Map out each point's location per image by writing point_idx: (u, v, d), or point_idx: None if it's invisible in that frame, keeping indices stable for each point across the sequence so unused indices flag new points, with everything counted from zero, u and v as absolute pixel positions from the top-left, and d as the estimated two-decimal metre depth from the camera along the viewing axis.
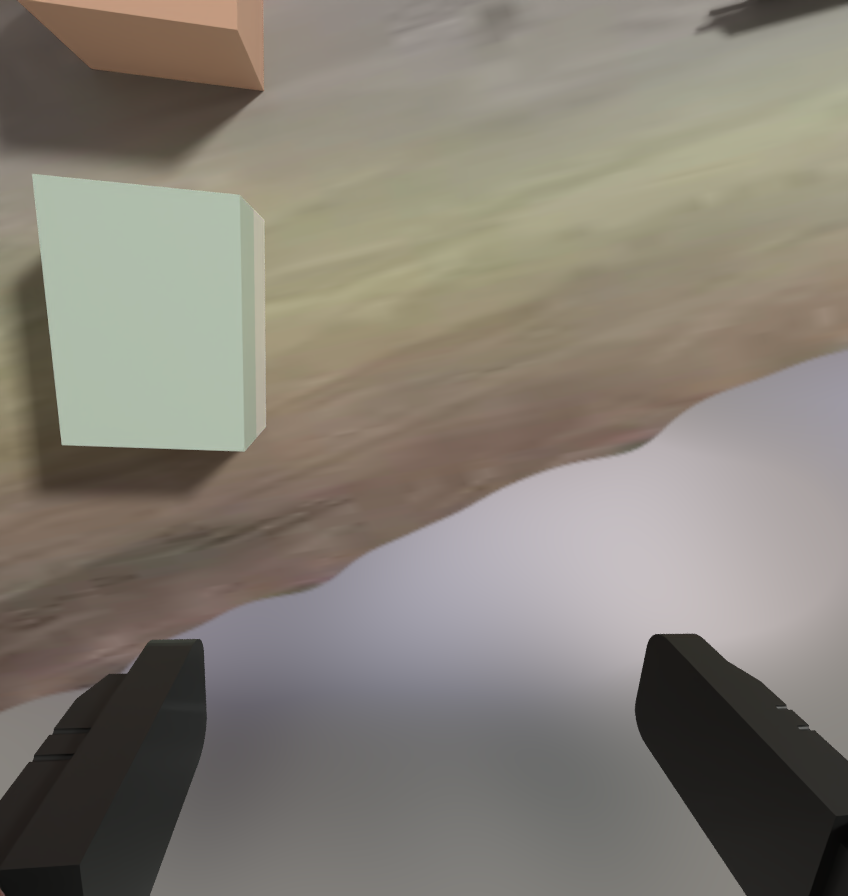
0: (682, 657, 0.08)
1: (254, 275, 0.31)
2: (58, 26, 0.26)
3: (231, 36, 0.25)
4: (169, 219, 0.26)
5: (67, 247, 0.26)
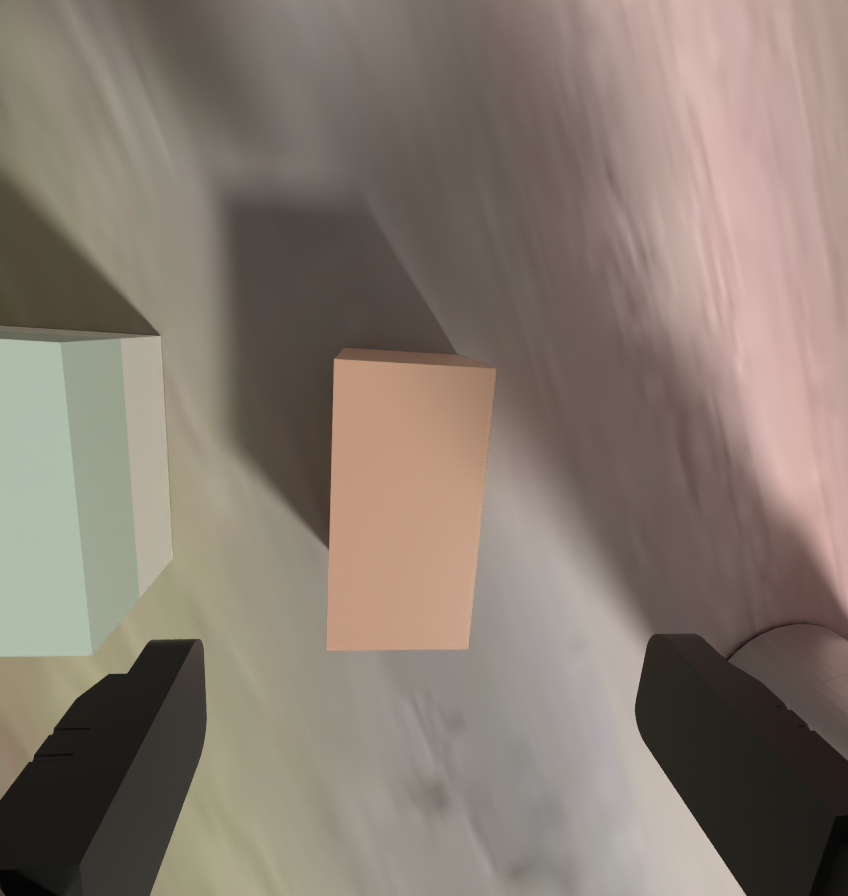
0: (682, 657, 0.08)
1: None
2: None
3: None
4: (28, 554, 0.15)
5: None
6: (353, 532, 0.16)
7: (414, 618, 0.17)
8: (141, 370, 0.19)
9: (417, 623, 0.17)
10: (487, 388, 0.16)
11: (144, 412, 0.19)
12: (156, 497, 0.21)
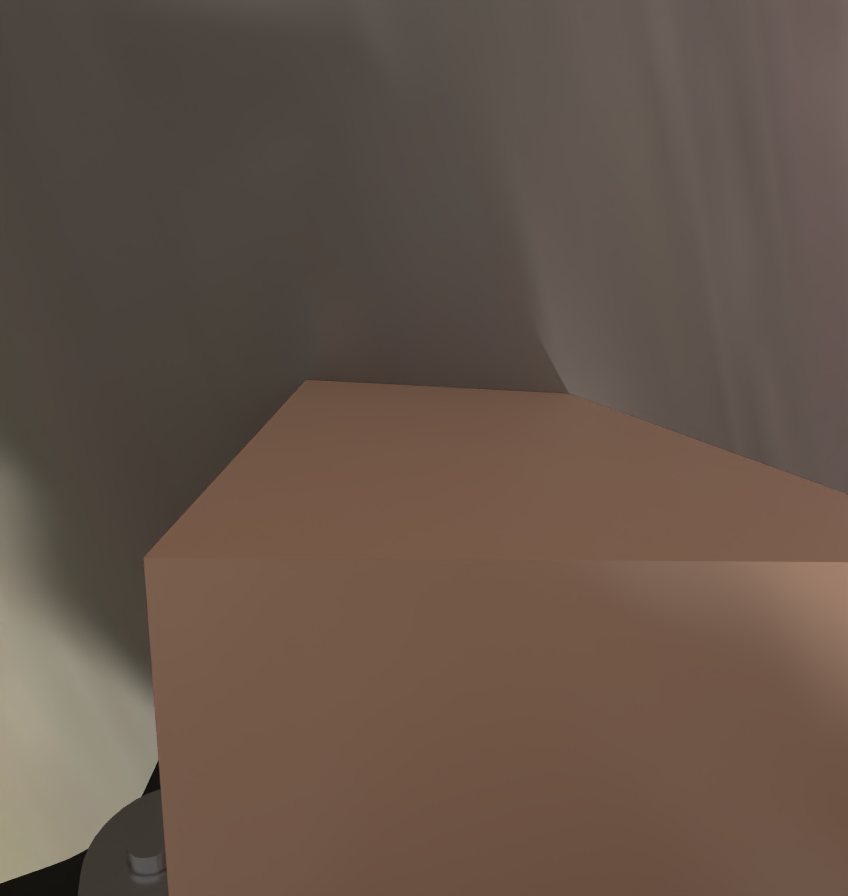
0: None
1: None
2: None
3: None
4: None
5: None
6: None
7: None
8: None
9: None
10: None
11: None
12: None
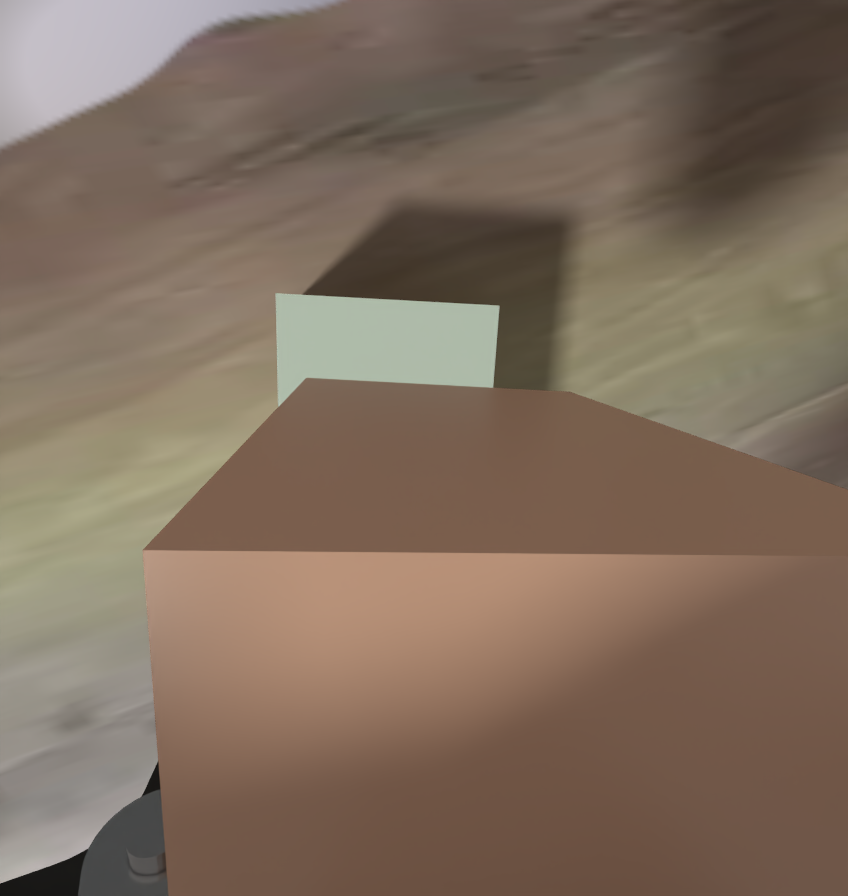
0: None
1: None
2: None
3: None
4: None
5: None
6: None
7: None
8: None
9: None
10: None
11: None
12: None
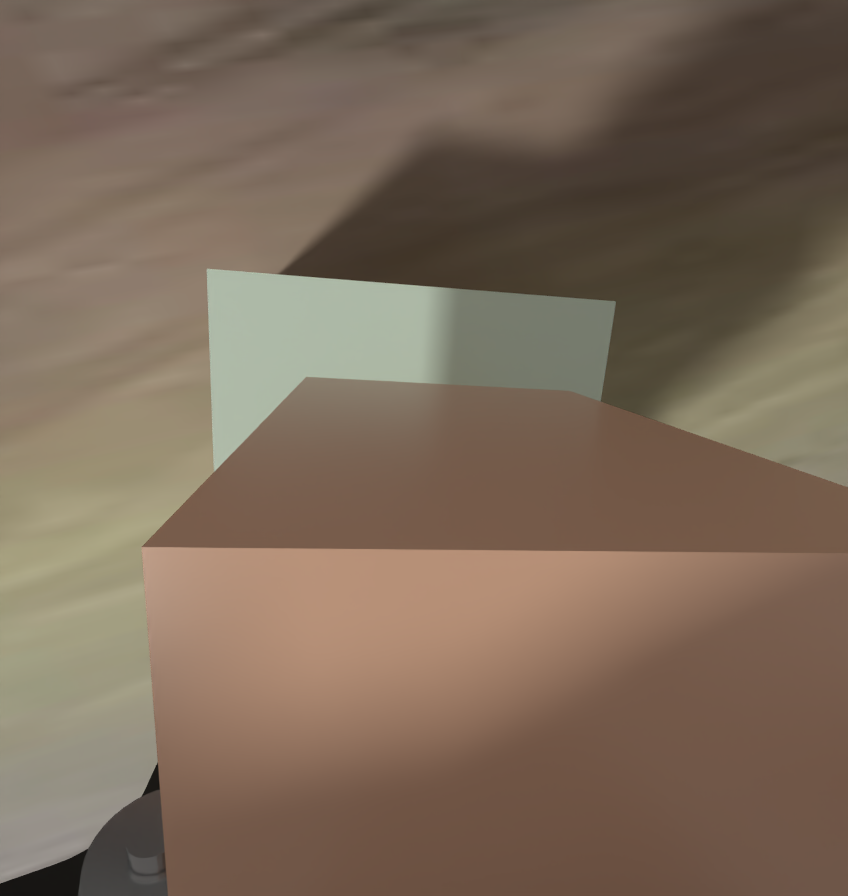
0: None
1: None
2: None
3: None
4: None
5: None
6: None
7: None
8: None
9: None
10: None
11: None
12: None
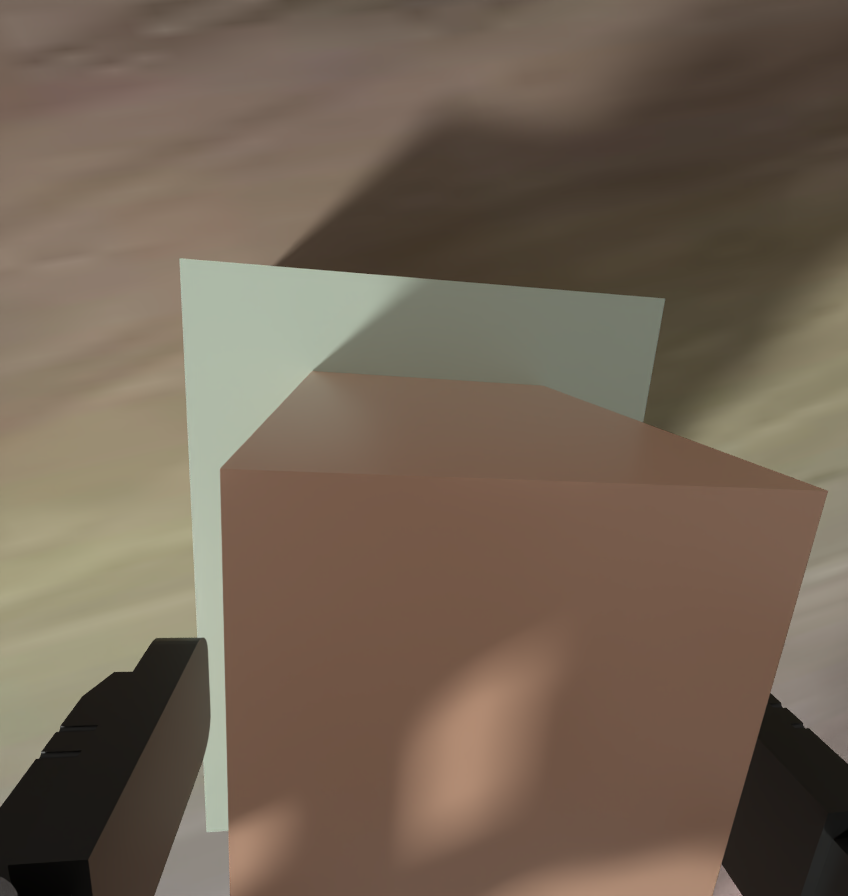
0: None
1: None
2: None
3: None
4: None
5: None
6: None
7: None
8: None
9: None
10: (785, 557, 0.04)
11: None
12: None
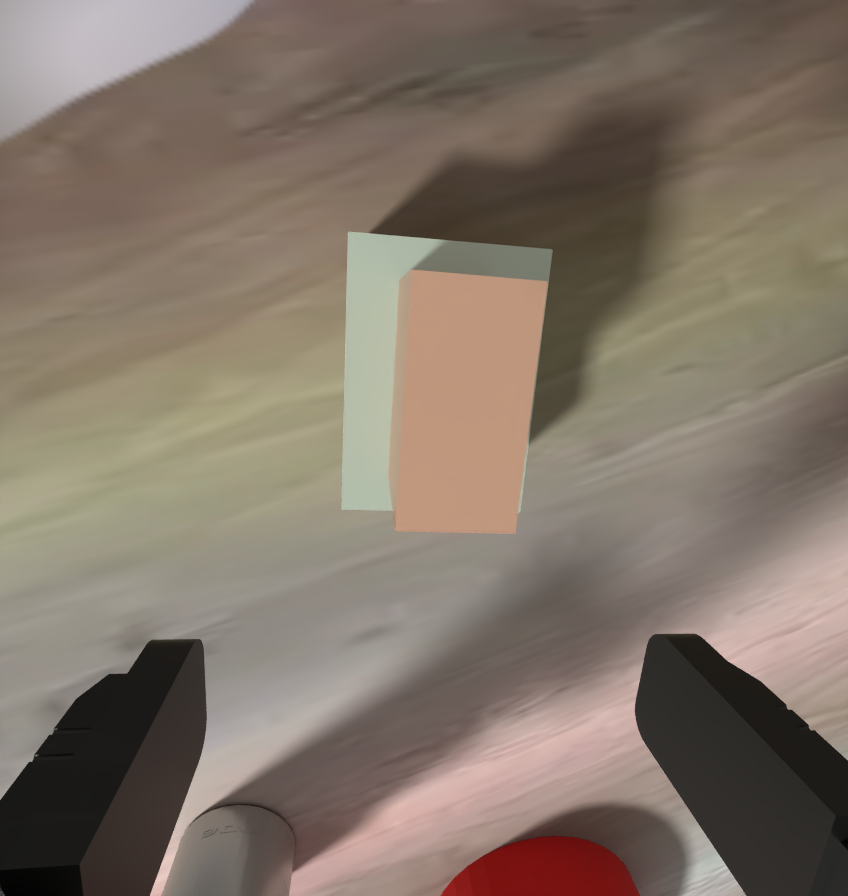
0: (682, 657, 0.08)
1: None
2: (405, 293, 0.20)
3: (394, 513, 0.21)
4: None
5: None
6: (421, 424, 0.19)
7: (470, 503, 0.20)
8: None
9: (472, 508, 0.20)
10: (539, 298, 0.18)
11: None
12: None
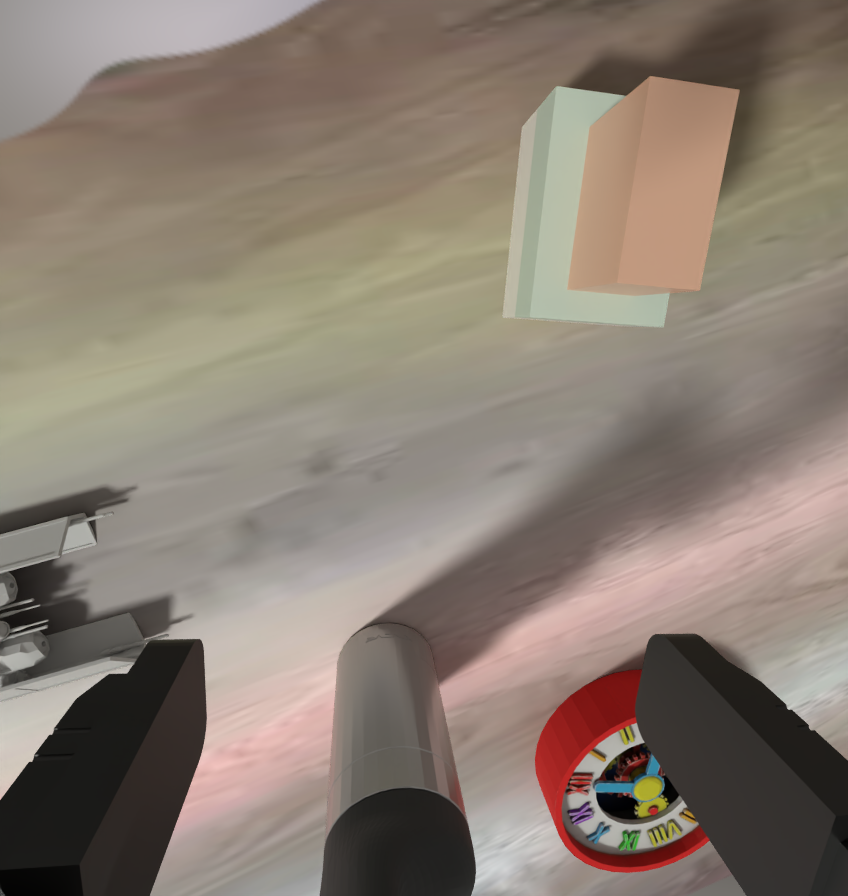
0: (682, 657, 0.08)
1: (520, 265, 0.37)
2: (626, 109, 0.28)
3: (612, 275, 0.28)
4: (581, 298, 0.35)
5: None
6: (644, 197, 0.27)
7: (671, 263, 0.28)
8: None
9: (672, 268, 0.28)
10: (733, 102, 0.26)
11: None
12: (548, 320, 0.40)
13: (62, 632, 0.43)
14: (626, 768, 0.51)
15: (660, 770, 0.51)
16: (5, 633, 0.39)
